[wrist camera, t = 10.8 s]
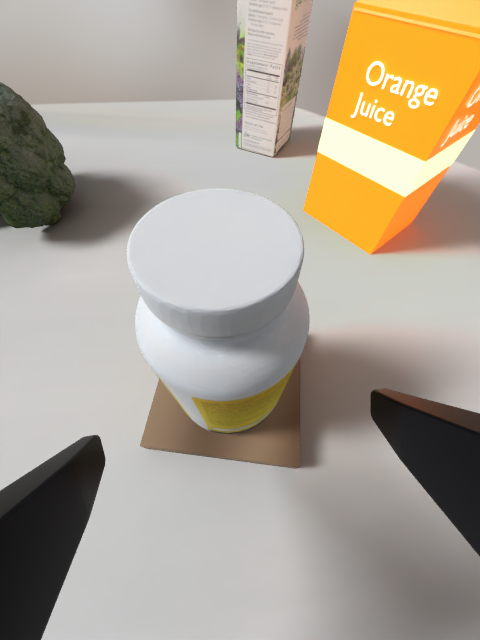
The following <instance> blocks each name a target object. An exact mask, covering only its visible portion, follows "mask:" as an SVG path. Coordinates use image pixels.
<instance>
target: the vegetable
mask: <svg viewBox="0 0 480 640" xmlns="http://www.w3.org/2000/svg"><path fill="white" fill-rule="evenodd" d="M65 159H66V158H65V156H64V151H63V147H62V145H61V143H60V142H59V140H58V139H57V138H56V137H55V136H54V135H53V134H52V133H51V132H50V131H49V129H47V127H46V125H45V122H44V120H43V118H42V116H41V115H40V114H39V113H38V112H37V111H36V110H35V109H33V108H32V107H31V106H30V104H29V103H27V102H26V101H25V100H24V99H23V98H22V97H21V96H20V95H18V94H16V93H15V92H14V91H13V90H12V89H11V88H9V87H8V86H6V85H4V84H3V83H0V213H1V214H2V218H3V219H4V220H5V222H6V223H7V224H9V225H11V226H13V227H15V228H24V227H31V228H34V227H39V226H43V225H53V224H55V223H57V222H58V221H59V220H60V219H61V213H60V210H61V208H62V206H63V205H66V204H67V203H68V201H69V200H70V197H71V195H72V193H73V192H74V188H75V182H74V178H73V176H72V174H71V171H70V170H69V169H68V167H67V166H66V165H65V164H64V162H65Z"/></svg>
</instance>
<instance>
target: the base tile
mask: <svg viewBox="0 0 480 640" xmlns="http://www.w3.org/2000/svg"><path fill="white" fill-rule="evenodd" d="M140 446H141V447H144V448H147V449H153V450H161V451H168V452H176V453H183V454H191V455H198V456H206V457H213V458H221V459H228V460H236V461H243V462H251V463H258V464H266V465H273V466H281V467H288V468H299V467H300V358H299V360H298V362H297V364H296V366H295V368H294V370H293V372H292V374H291V376H290V378H289V380H288V382H287V384H286V386H285V388H284V390H283V392H282V394H281V396H280V398H279V400H278V402H277V404H276V406H275V408H274V409H273V411H272V412H271V413H270V415H269V416H268V417H267V418H266V419H265V420H264V421H263V422H261V423H260V424H259V425H257V426H256V427H254V428H252V429H250V430H248V431H245V432H241V433H236V434H220V433H215V432H212V431H209V430H207V429H204V428H203V427H201V426H199V425H198V424H197V423H195V422H194V421H193V420H192V419H191V418H190V417H189V416H188V415H187V414H186V412H185V411H184V410H183V408H182V407H181V406H180V404H179V403H178V402H177V400H176V399H175V398H174V396H173V395H172V394H171V393H170V392H169V390H168V389H167V388H166V387H165V385H164V384H163V383H162V382H161V380H160V379H159V381H158V385H157V388H156V392H155V395H154V399H153V402H152V406H151V409H150V413H149V416H148V420H147V423H146V427H145V430H144V434H143V437H142V440H141V444H140Z"/></svg>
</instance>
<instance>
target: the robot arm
mask: <svg viewBox="0 0 480 640" xmlns="http://www.w3.org/2000/svg"><path fill="white" fill-rule="evenodd" d="M370 411H371V416H372V419H373V420H374V422H375V423H376V425H377V426H378V428H379V429H380V431H381V432H382V434H383V435H384V437H385V438H386V439H387V441H388V442H389V444H390V445H391V447H392V448H393V450H394V451H395V453H396V454H397V455H398V457H399V458H400V460H401V461H402V462H403V463H404V465H405V466H406V467H407V468H408V470H409V471H410V472H411V473H412V474H413V476H414V477H415V478H416V479H417V481H418V482H419V483H420V484H421V485H422V487H423V488H424V489H425V490H426V492H427V493H428V494H429V495H430V496H431V498H432V499H433V500H434V501H435V502H436V504H437V505H438V506H439V507H440V509H441V510H442V511H443V512H444V513H445V515H446V516H447V517H448V518H449V520H450V521H451V522H452V523H453V524H454V526H455V527H456V528H457V529H458V530H459V532H460V533H461V534H462V535H463V537H464V538H465V539H466V540H467V541H468V543H469V544H470V545H471V546H472V548H473V549H474V550H475V551H476V552H477V554H478V555H479V556H480V414H479V413H476V412H472V411H468V410H464V409H460V408H457V407H453V406H449V405H445V404H441V403H438V402H434V401H430V400H426V399H422V398H419V397H415V396H411V395H407V394H403V393H400V392H396V391H392V390H388V389H376V390H373V391H372V392H371V409H370ZM104 467H105V455H104V451H103V447H102V443H101V439H100V437H99V436H98V435H92V436H86V437H83V438H81V439H80V440H78V441H77V442H75V443H73V444H72V445H70V446H69V447H67V448H66V449H64V450H63V451H61V452H60V453H58V454H56V455H55V456H53V457H52V458H50V459H49V460H47V461H46V462H44V463H42V464H41V465H39V466H38V467H36V468H35V469H33V470H32V471H30V472H29V473H27V474H25V475H24V476H22V477H21V478H19V479H18V480H16V481H15V482H13V483H12V484H10V485H8V486H7V487H5V488H4V489H2V490H1V491H0V640H41V638H42V636H43V633H44V631H45V628H46V626H47V623H48V621H49V618H50V616H51V613H52V611H53V608H54V606H55V603H56V601H57V598H58V595H59V593H60V590H61V588H62V585H63V583H64V580H65V578H66V575H67V573H68V570H69V568H70V565H71V563H72V560H73V558H74V555H75V553H76V550H77V548H78V545H79V543H80V540H81V538H82V535H83V533H84V530H85V528H86V525H87V523H88V520H89V517H90V514H91V511H92V508H93V504H94V501H95V497H96V494H97V491H98V487H99V484H100V480H101V477H102V473H103V470H104Z"/></svg>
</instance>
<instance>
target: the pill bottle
mask: <svg viewBox="0 0 480 640" xmlns="http://www.w3.org/2000/svg"><path fill="white" fill-rule="evenodd" d="M303 257H304V242H303V237H302V234H301V231H300V229H299V227H298V225H297V223H296V222H295V221H294V219H293V218H292V217H291V215H290V214H288V213H287V212H286V211H285V210H284V209H283V208H282V207H281V206H279V205H278V204H276V203H274V202H273V201H271V200H269V199H267V198H265V197H263V196H260V195H257V194H254V193H250V192H246V191H241V190H236V189H228V188H211V189H202V190H195V191H191V192H187V193H183V194H179V195H177V196H174V197H171V198H169V199H167V200H165V201H163V202H161V203H160V204H158V205H156V206H155V207H154V208H152V209H151V210H150V211H148V212H147V213H146V214H145V215H144V216H143V217H142V218H141V219H140V220H139V221H138V223H137V224H136V225H135V227H134V229H133V231H132V233H131V234H130V237H129V241H128V245H127V260H128V266H129V269H130V272H131V274H132V276H133V278H134V281H135V283H136V285H137V287H138V290H139V292H140V295H141V296H140V298H139V301H138V305H137V310H136V317H135V329H136V336H137V340H138V344H139V347H140V350H141V352H142V354H143V356H144V358H145V360H146V361H147V363H148V364H149V366H150V367H151V369H152V370H153V371H154V373H155V374H156V375H157V377H158V378H159V379H160V380H161V382H162V383H163V384H164V385H165V387H166V388H167V389H168V390H169V392H170V393H171V394H172V395H173V396H174V398H175V399H176V400H177V402H178V403H179V404H180V406H181V407H182V408H183V410H184V411H185V412H186V414H187V415H188V416H189V417H190V418H191V419H192V420H193V421H194V422H195V423H197V424H198V425H199V426H201V427H203V428H204V429H207V430H209V431H212V432H215V433H220V434H236V433H241V432H245V431H248V430H250V429H252V428H254V427H256V426H257V425H259V424H260V423H261V422H263V421H264V420H265V419H266V418H267V417H268V416H269V415H270V413H271V412H272V411H273V409H274V408H275V406H276V404H277V402H278V400H279V398H280V396H281V394H282V392H283V390H284V388H285V386H286V384H287V382H288V380H289V378H290V376H291V374H292V372H293V370H294V368H295V366H296V364H297V362H298V360H299V358H300V356H301V353H302V351H303V349H304V346H305V343H306V340H307V337H308V331H309V308H308V303H307V300H306V297H305V294H304V292H303V290H302V288H301V286H300V284H299V283H298V278H299V274H300V270H301V266H302V262H303Z"/></svg>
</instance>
